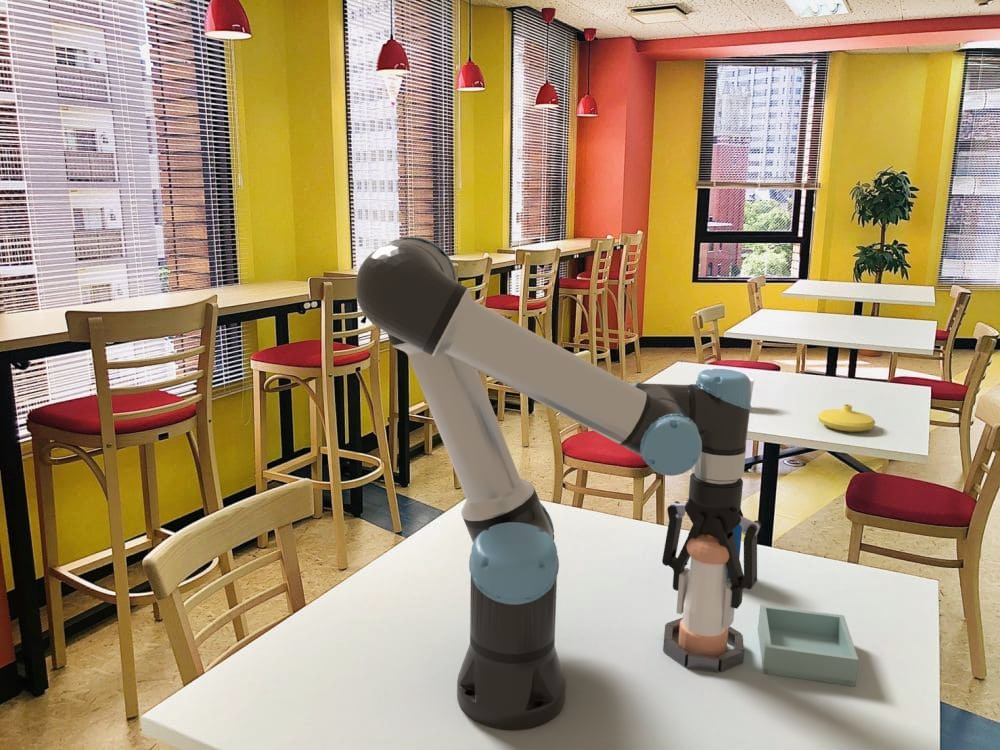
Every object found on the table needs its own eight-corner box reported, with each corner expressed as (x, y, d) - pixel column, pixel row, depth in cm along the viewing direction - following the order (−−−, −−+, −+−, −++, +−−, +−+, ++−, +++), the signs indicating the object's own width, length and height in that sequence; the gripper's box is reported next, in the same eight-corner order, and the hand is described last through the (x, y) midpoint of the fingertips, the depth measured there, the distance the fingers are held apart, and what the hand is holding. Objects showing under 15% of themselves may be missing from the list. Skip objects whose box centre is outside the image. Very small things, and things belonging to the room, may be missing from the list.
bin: (854, 686, 117) (858, 659, 116) (763, 673, 120) (766, 646, 119) (840, 639, 129) (844, 615, 128) (757, 628, 132) (760, 604, 131)
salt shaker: (668, 641, 127) (676, 527, 123) (702, 629, 131) (712, 517, 126) (701, 664, 121) (711, 545, 117) (736, 651, 125) (747, 535, 120)
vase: (881, 438, 233) (884, 414, 231) (823, 434, 235) (825, 411, 234) (865, 422, 248) (868, 400, 247) (811, 419, 251) (814, 396, 249)
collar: (744, 676, 119) (745, 664, 119) (661, 664, 122) (662, 652, 122) (740, 634, 130) (741, 622, 130) (665, 623, 133) (666, 612, 133)
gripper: (791, 482, 117) (776, 626, 123) (664, 455, 128) (655, 589, 133) (776, 498, 111) (761, 649, 117) (644, 468, 122) (635, 608, 127)
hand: (704, 617), depth 125 cm, fingers closed on salt shaker, 7 cm apart
